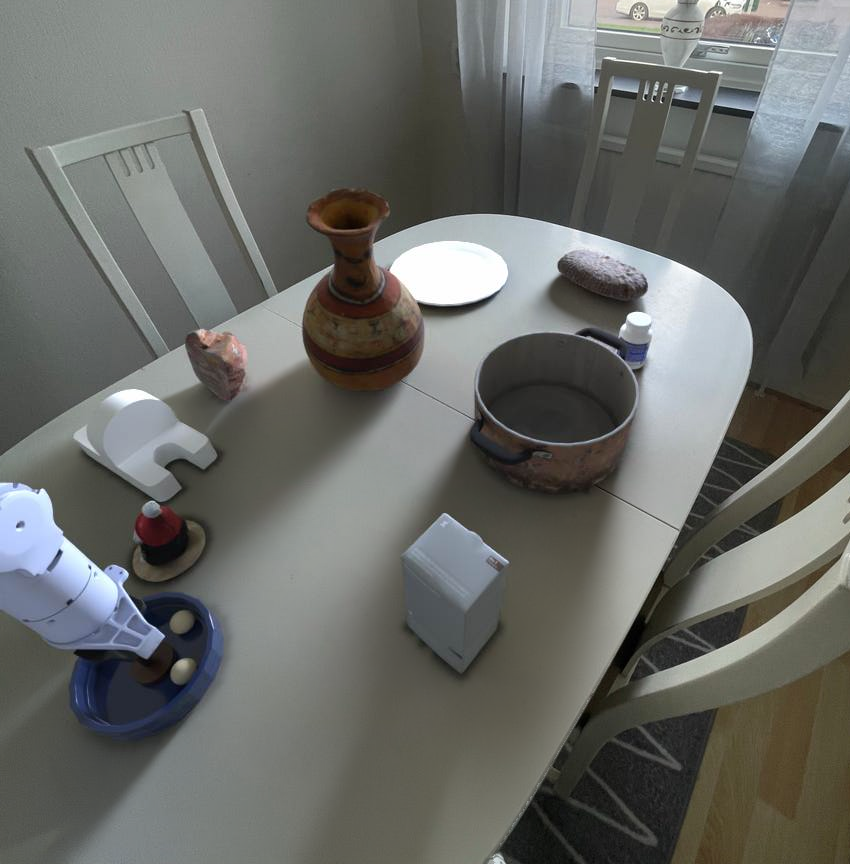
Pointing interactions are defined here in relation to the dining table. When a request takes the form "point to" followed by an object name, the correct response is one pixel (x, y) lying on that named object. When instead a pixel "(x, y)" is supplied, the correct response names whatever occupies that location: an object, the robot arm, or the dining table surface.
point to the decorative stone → (603, 275)
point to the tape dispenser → (142, 441)
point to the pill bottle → (636, 338)
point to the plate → (450, 273)
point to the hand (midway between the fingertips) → (131, 647)
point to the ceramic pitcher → (359, 300)
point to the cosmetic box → (453, 590)
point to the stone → (217, 361)
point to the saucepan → (554, 409)
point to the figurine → (165, 543)
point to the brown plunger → (154, 665)
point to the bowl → (158, 704)
